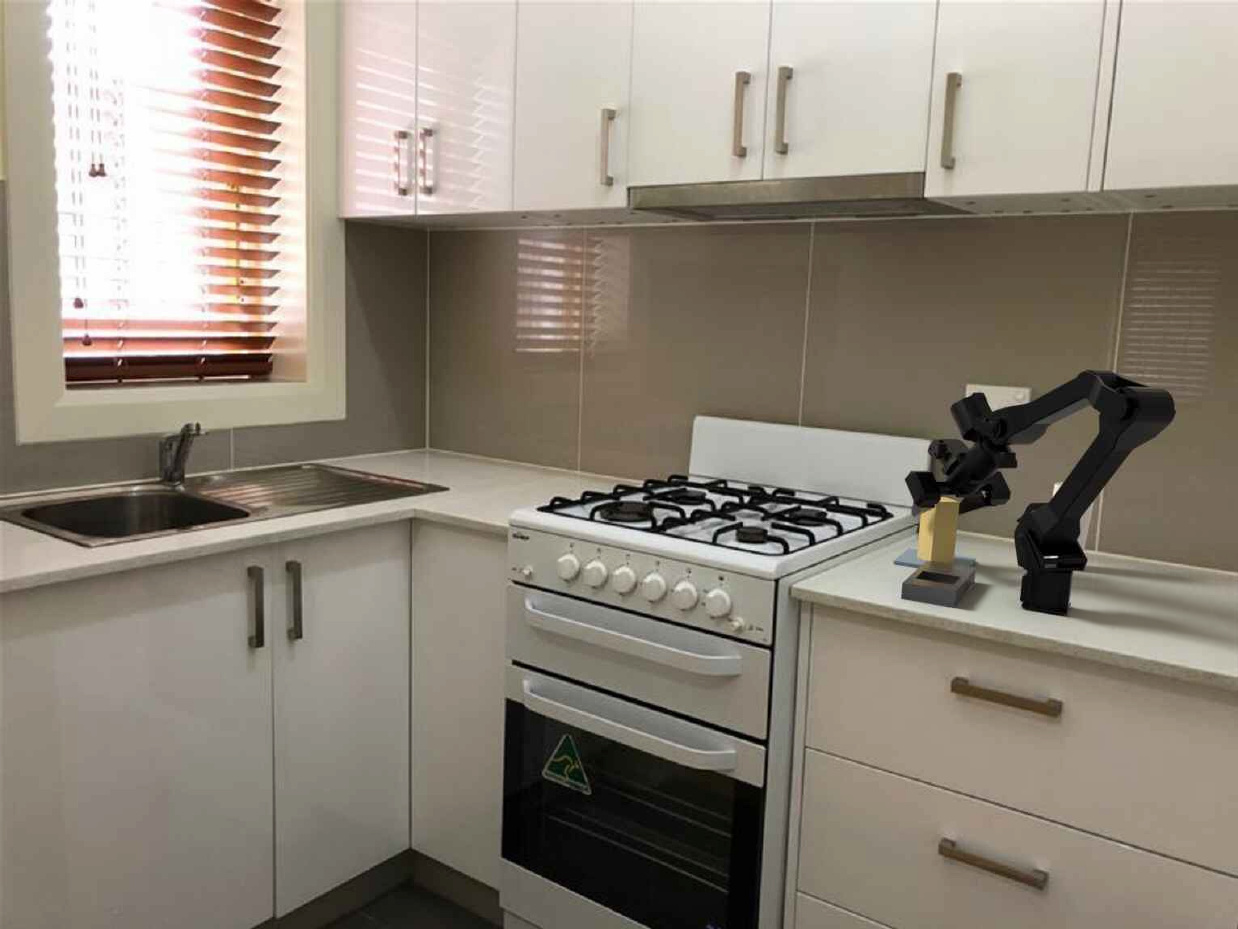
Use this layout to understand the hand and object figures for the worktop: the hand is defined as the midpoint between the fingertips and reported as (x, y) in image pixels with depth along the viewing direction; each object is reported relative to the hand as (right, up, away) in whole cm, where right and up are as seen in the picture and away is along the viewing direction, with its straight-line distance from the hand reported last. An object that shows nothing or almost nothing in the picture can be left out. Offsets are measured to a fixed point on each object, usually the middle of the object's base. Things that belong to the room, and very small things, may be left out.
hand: (934, 514), depth 179 cm
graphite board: (-5, -11, -19) cm, 22 cm away
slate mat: (0, -9, 0) cm, 9 cm away
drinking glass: (+24, -10, +2) cm, 26 cm away
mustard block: (0, -8, 0) cm, 8 cm away
